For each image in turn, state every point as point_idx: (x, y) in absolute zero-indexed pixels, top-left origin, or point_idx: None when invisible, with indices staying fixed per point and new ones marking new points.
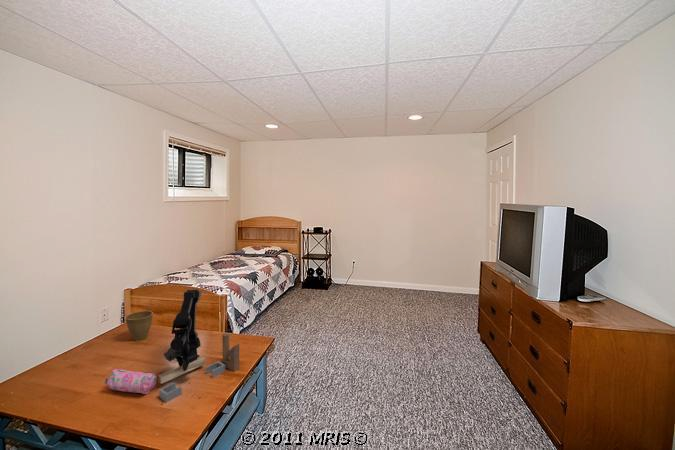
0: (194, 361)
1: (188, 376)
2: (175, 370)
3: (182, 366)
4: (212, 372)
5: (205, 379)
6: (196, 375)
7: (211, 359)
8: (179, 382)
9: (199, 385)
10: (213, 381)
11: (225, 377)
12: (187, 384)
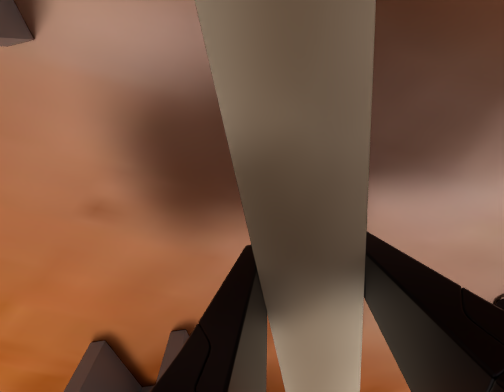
0: (326, 387)
1: (234, 231)
2: (278, 158)
3: (326, 278)
4: (75, 385)
5: (92, 306)
6: (202, 280)
7: None
8: (171, 132)
9: (10, 256)
10: (32, 331)
11: (54, 380)
12: (79, 186)
